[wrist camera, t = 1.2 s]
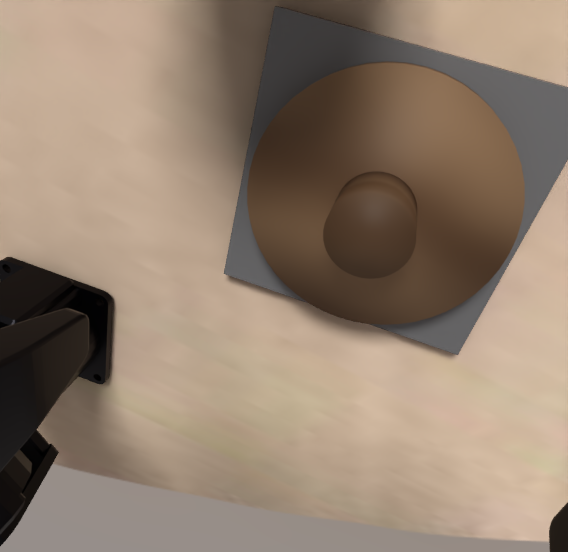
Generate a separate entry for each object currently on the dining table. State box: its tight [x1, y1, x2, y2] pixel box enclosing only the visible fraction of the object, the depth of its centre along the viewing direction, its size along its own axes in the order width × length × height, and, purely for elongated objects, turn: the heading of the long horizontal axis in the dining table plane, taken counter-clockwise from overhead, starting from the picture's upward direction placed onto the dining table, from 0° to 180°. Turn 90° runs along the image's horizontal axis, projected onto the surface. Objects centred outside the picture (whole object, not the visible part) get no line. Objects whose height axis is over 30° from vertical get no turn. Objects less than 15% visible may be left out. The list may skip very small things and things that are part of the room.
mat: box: [224, 6, 568, 355], centre depth 19 cm, size 11×11×1 cm
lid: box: [247, 61, 525, 325], centre depth 17 cm, size 10×10×4 cm
